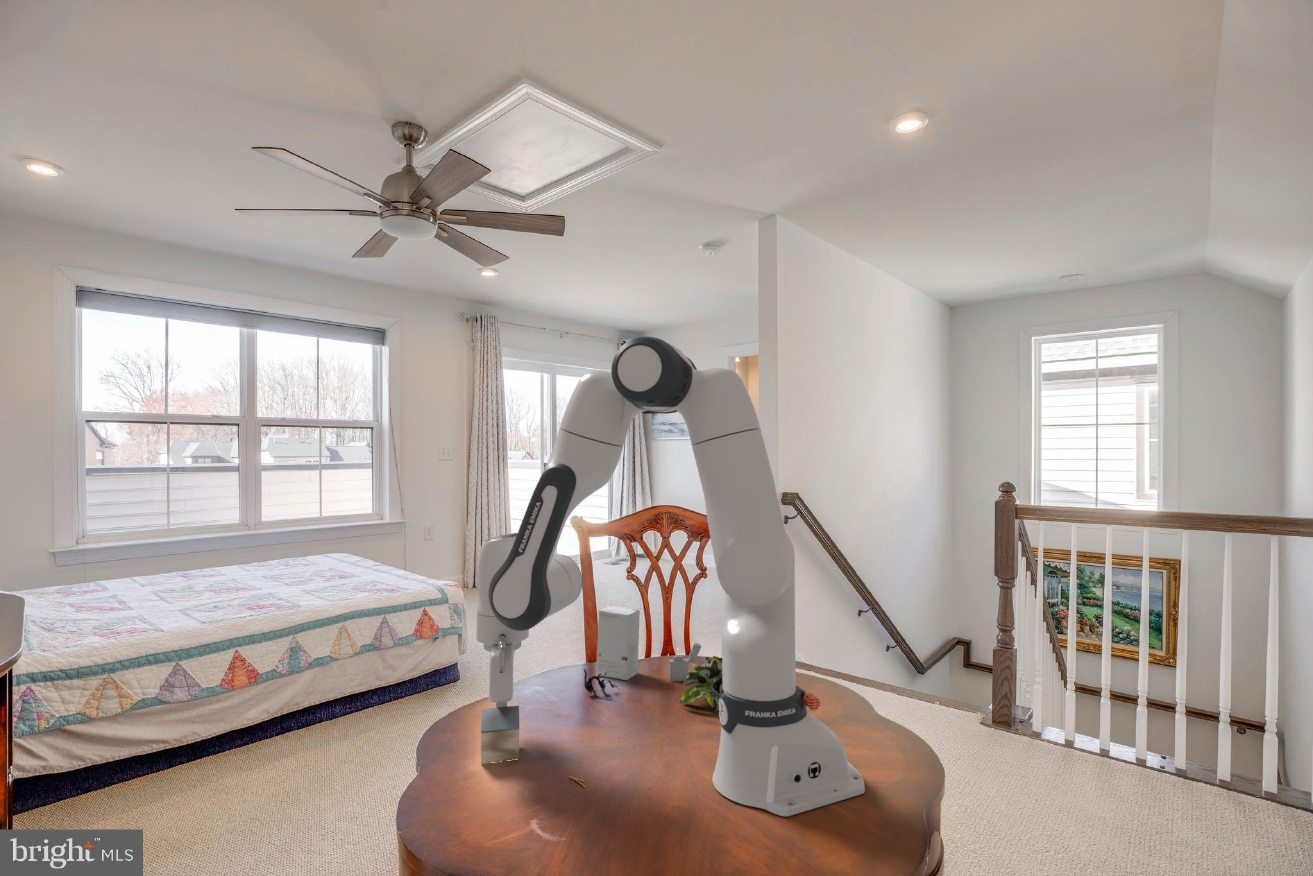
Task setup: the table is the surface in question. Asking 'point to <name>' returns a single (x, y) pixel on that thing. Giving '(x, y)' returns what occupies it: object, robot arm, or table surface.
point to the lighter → (682, 664)
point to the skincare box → (618, 642)
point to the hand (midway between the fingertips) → (501, 708)
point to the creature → (601, 683)
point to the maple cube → (500, 734)
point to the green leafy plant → (704, 682)
